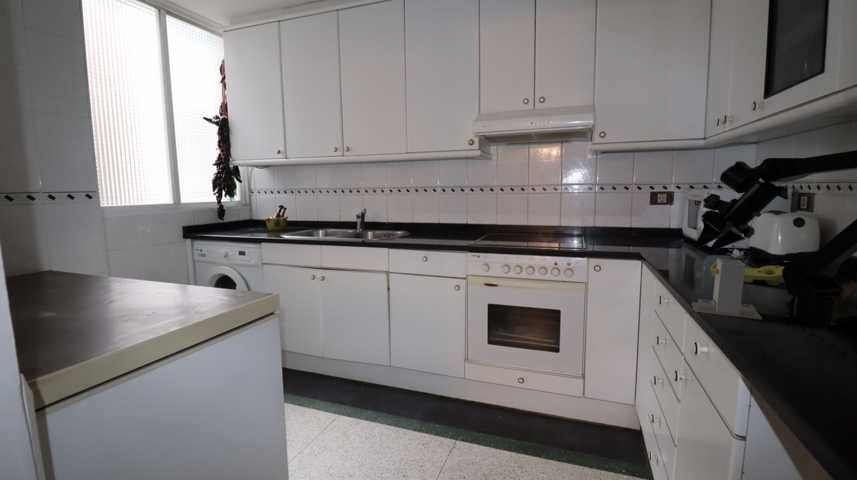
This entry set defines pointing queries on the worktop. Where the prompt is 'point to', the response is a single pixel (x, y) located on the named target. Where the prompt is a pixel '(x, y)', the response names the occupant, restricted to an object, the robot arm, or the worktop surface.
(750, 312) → the rail
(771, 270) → the plastic component
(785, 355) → the worktop surface
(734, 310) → the block
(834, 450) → the worktop surface
